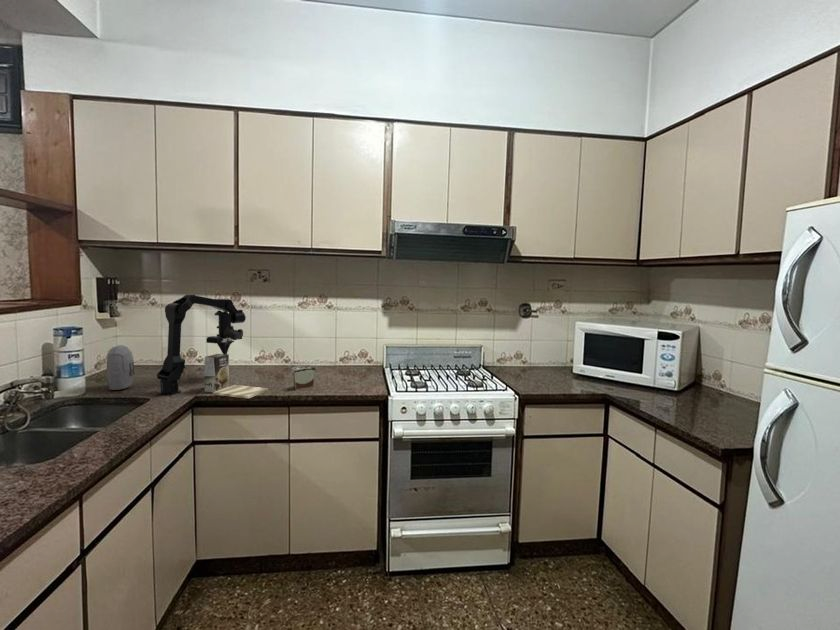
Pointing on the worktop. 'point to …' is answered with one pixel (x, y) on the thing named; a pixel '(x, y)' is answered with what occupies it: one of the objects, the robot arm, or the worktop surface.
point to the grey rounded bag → (120, 368)
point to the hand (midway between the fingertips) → (224, 355)
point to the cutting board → (240, 391)
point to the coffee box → (216, 372)
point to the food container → (303, 376)
